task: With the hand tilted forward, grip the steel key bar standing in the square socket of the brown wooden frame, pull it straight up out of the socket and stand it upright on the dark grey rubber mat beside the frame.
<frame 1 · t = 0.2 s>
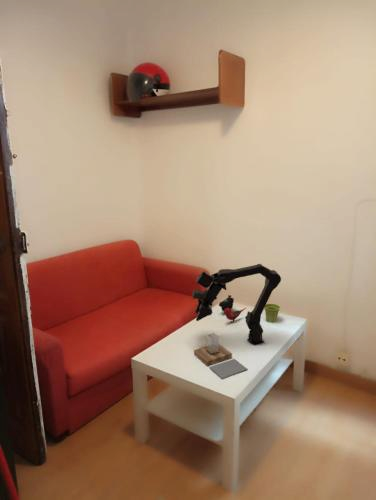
hand: (196, 316, 187), 15 cm above the table, tool tilted 35°, fingers open, 9 cm apart
decorative bird figurine: (234, 321, 215), on the table
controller: (226, 312, 227), on the table
brown wooden frame: (212, 356, 178), on the table
plant pot: (271, 320, 215), on the table
grey mat: (228, 369, 167), on the table
steel key bar: (212, 346, 177), in the brown wooden frame
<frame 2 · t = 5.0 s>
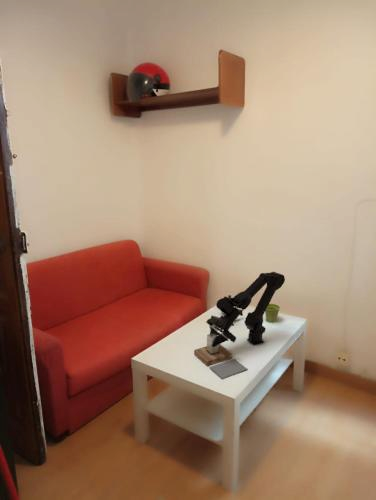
hand: (210, 344, 176), 7 cm above the table, tool tilted 45°, fingers closed on steel key bar, 4 cm apart
steel key bar: (212, 346, 177), in the brown wooden frame, touching gripper
everything else where it was.
when the fingers open (9 cm above the table, at t = 9.2 s): steel key bar drops 1 cm, resting on grey mat.
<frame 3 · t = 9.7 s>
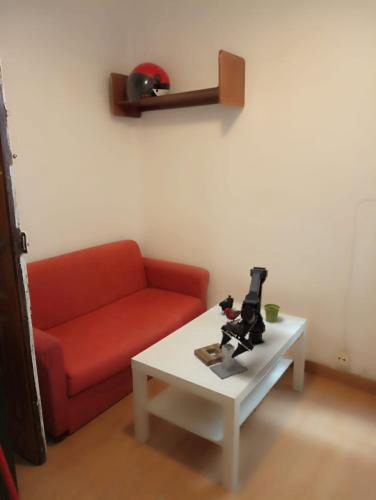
hand: (225, 352, 164), 9 cm above the table, tool tilted 45°, fingers open, 9 cm apart
steel key bar: (228, 357, 165), on the grey mat, point 6 cm above the table
everything else where it was.
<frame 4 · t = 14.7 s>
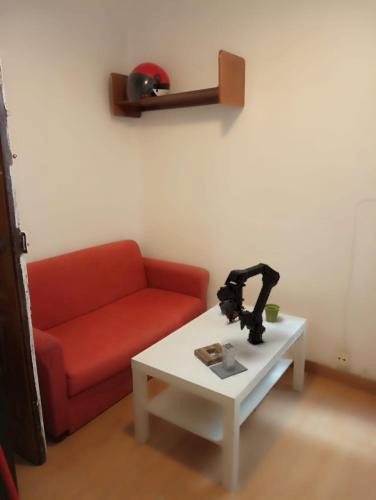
hand: (236, 326, 180), 13 cm above the table, tool pointing down, fingers open, 9 cm apart
nothing on the table moved.
at the end: steel key bar inside the target area on the grey mat (0.0 cm from its centre), point 6.1 cm above the grey mat's base; steel key bar tilted 0°; the gripper is holding nothing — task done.
